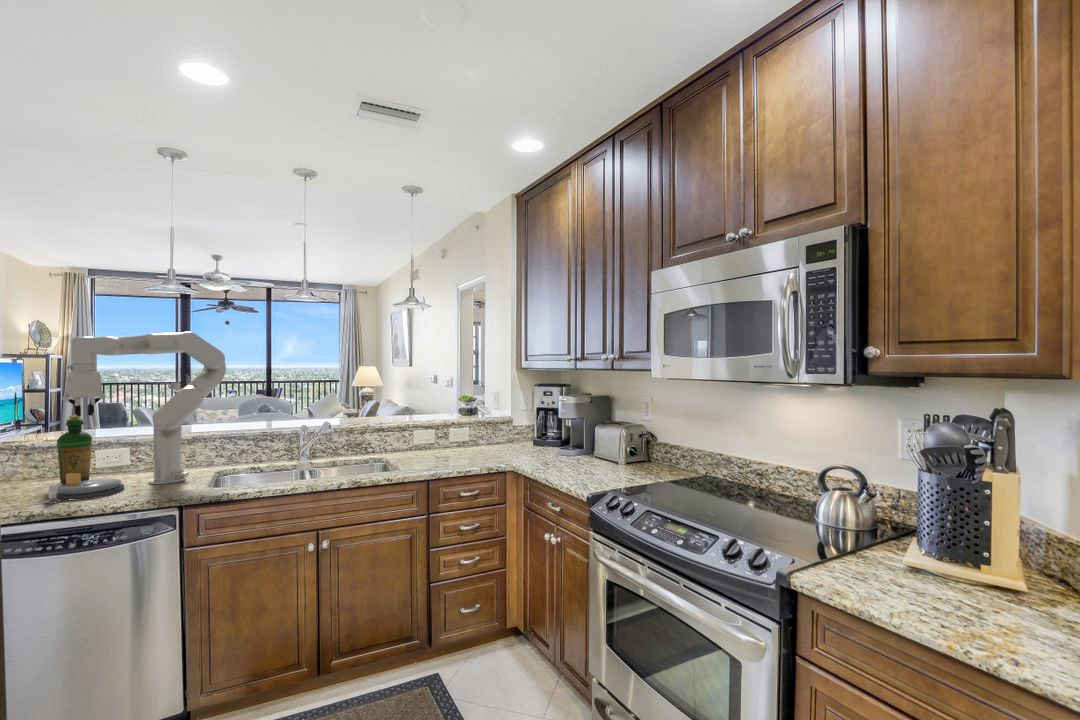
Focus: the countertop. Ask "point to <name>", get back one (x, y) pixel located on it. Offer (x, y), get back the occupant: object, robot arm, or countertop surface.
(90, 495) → the turntable base
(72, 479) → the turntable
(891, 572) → the countertop surface
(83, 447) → the bottle
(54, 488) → the capsule on square base
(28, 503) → the countertop surface
